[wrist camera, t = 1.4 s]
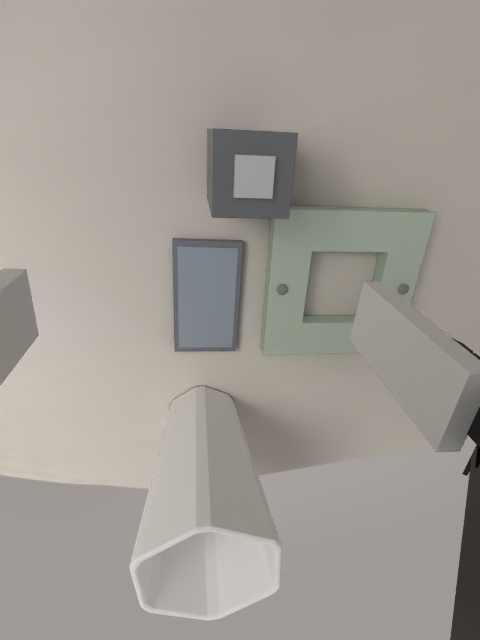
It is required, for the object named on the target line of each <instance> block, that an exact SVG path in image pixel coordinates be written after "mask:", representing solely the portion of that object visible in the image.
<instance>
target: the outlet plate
mask: <svg viewBox="0 0 480 640" xmlns="http://www.w3.org/2000/svg"><path fill="white" fill-rule="evenodd" d="M435 215H436V213H435V212H432V211H429V210H426V209H393V208H355V207H317V206H290V215H289V219H271V226H270V238H269V250H268V262H267V274H266V286H265V299H264V311H263V323H262V335H261V350H262V353H263V355H297V354H336V353H360V352H359V350H358V349H357V348H356V347H355V345H354V344H353V343H352V341H351V340H350V335H351V331H352V327H353V323H354V319H355V315H319V316H303V314H304V306H305V299H306V292H307V285H308V277H309V270H310V263H311V256H312V251H317V252H379V255H378V259H377V264H376V268H375V273H374V277H373V282H382V283H383V284H384V285H385V286H387V287H388V288H389V289H390V290H392V291H393V292H394V293H395V294H397V295H398V296H399V297H401V298H402V299H403V300H404V301H406V302H407V303H408V304H409V305H410V304H411V301H412V297H413V293H414V290H415V286H416V283H417V279H418V276H419V272H420V268H421V265H422V261H423V258H424V254H425V251H426V247H427V243H428V240H429V236H430V233H431V229H432V225H433V222H434V218H435Z"/></svg>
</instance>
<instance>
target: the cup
mask: <svg viewBox="0 0 480 640" xmlns="http://www.w3.org/2000/svg"><path fill="white" fill-rule="evenodd" d="M281 553H282V546H281V543H280V540H279V537H278V534H277V531H276V528H275V525H274V522H273V519H272V516H271V513H270V510H269V507H268V504H267V501H266V498H265V495H264V492H263V489H262V486H261V483H260V480H259V477H258V474H257V471H256V468H255V465H254V462H253V459H252V456H251V453H250V450H249V447H248V444H247V441H246V438H245V435H244V432H243V429H242V426H241V423H240V420H239V417H238V414H237V411H236V408H235V405H234V402H233V400H232V399H231V397H230V396H229V395H228V394H225V393H223V392H220V391H217V390H214V389H211V388H209V387H206V386H200V387H194V388H193V389H191V390H189V391H188V392H186V393H184V394H182V395H181V396H179V397H177V398H176V399H174V400H173V401H172V403H171V405H170V408H169V412H168V416H167V420H166V424H165V428H164V432H163V435H162V439H161V443H160V447H159V451H158V455H157V459H156V463H155V467H154V471H153V475H152V479H151V483H150V487H149V491H148V495H147V499H146V503H145V507H144V511H143V515H142V519H141V523H140V527H139V531H138V535H137V539H136V543H135V547H134V551H133V555H132V559H131V563H130V567H129V568H130V572H131V575H132V579H133V583H134V586H135V589H136V593H137V597H138V599H139V604H140V606H141V608H143V609H144V610H146V611H148V612H149V613H156V614H164V615H171V616H178V617H186V618H193V619H201V620H208V621H209V620H216V619H221V618H223V617H225V616H227V615H229V614H231V613H233V612H236V611H238V610H240V609H242V608H244V607H246V606H248V605H251V604H253V603H255V602H257V601H259V600H261V599H264V598H266V597H268V596H270V595H272V594H274V593H275V591H276V590H277V589H278V588H279V587H280V578H281V577H280V576H281Z"/></svg>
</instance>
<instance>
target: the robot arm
mask: <svg viewBox="0 0 480 640" xmlns="http://www.w3.org/2000/svg"><path fill="white" fill-rule="evenodd" d="M38 335H39V334H38V329H37V323H36V318H35V313H34V307H33V302H32V297H31V291H30V286H29V281H28V275H27V270H26V269H3V270H1V271H0V385H1V384H2V383H3V381H4V380H5V379H6V377H7V376H8V375H9V374H10V372H11V371H12V370H13V368H14V367H15V366H16V364H17V363H18V362H19V360H20V359H21V358H22V356H23V355H24V354H25V352H26V351H27V350H28V348H29V347H30V346H31V344H32V343H33V342H34V340H35V339H36V338H37V337H38ZM350 340H351V341H352V343H353V344H354V345H355V347H356V348H357V349H358V350H359V352H360V353H361V354H362V356H363V357H364V358H365V360H366V361H367V362H368V364H369V365H370V366H371V367H372V369H373V370H374V371H375V373H376V374H377V375H378V377H379V378H380V379H381V381H382V382H383V383H384V385H385V386H386V387H387V388H388V390H389V391H390V392H391V394H392V395H393V396H394V398H395V399H396V400H397V402H398V403H399V404H400V405H401V407H402V408H403V409H404V411H405V412H406V413H407V415H408V416H409V417H410V419H411V420H412V421H413V423H414V424H415V425H416V426H417V428H418V429H419V430H420V432H421V433H422V434H423V436H424V437H425V438H426V440H427V441H428V442H429V443H430V445H431V446H432V447H433V449H434V450H435V451H436V452H453V451H454V452H455V451H460V450H461V448H462V446H463V444H464V442H465V440H466V438H467V435H469V437H470V438H471V439H472V440H473V441H474V442H475V443H476V444H477V445H476V447H475V450H474V452H473V454H472V456H471V458H470V460H469V462H468V464H467V466H466V468H465V470H464V472H463V474H464V475H466V476H467V475H468V473H469V472H470V475H469V483H468V492H467V500H466V509H465V518H464V527H463V535H462V543H461V552H460V561H459V570H458V578H457V586H456V595H455V604H454V612H453V621H452V630H451V638H450V640H480V357H479V356H478V355H477V354H475V353H473V351H472V350H470V349H469V348H468V347H467V346H465V345H464V344H463V343H461V342H459V341H457V340H455V339H453V338H451V337H450V336H449V335H447V334H446V333H445V332H443V331H442V330H441V329H440V328H438V327H437V326H436V325H435V324H433V323H432V322H431V321H430V320H428V319H427V318H426V317H425V316H423V315H422V314H421V313H419V312H418V311H417V310H416V309H414V308H413V307H412V306H411V305H409V304H408V303H407V302H406V301H404V300H403V299H402V298H401V297H399V296H398V295H397V294H395V293H394V292H393V291H392V290H390V289H389V288H388V287H387V286H385V285H384V284H383V283H382V282H370V281H364V282H363V286H362V290H361V294H360V298H359V302H358V306H357V310H356V315H355V319H354V323H353V327H352V331H351V335H350Z"/></svg>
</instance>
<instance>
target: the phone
mask: <svg viewBox="0 0 480 640" xmlns="http://www.w3.org/2000/svg"><path fill="white" fill-rule="evenodd" d="M172 241H173V290H174V339H175V351H236V341H237V326H238V311H239V297H240V282H241V267H242V252H243V241H242V240H215V239H183V238H173V240H172Z"/></svg>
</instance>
